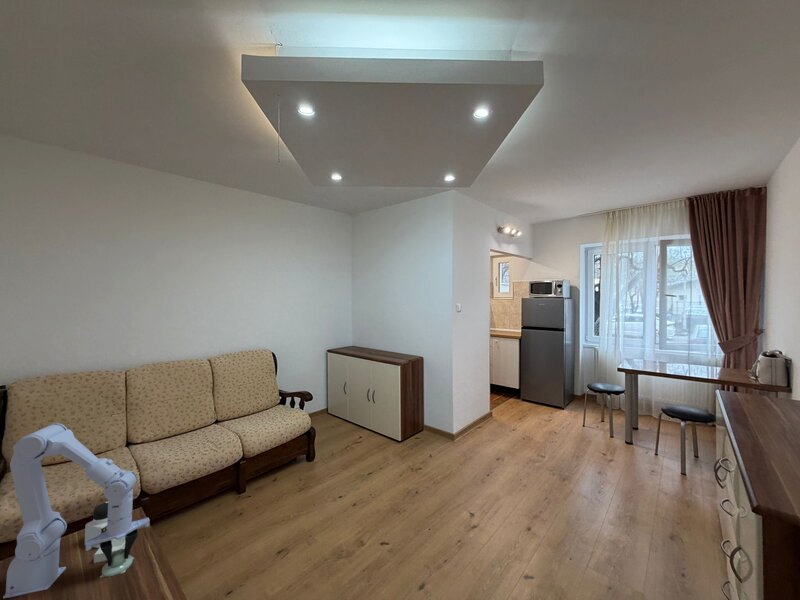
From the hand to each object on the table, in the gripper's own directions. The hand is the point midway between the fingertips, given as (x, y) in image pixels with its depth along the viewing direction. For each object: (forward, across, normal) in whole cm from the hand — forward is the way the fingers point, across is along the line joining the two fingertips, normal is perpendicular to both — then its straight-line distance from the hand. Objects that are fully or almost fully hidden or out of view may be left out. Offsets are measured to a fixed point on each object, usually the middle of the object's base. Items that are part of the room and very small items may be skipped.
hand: (117, 560), depth 96 cm
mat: (+2, 0, 0) cm, 2 cm away
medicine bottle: (+2, -1, +19) cm, 19 cm away
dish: (+2, 0, +8) cm, 9 cm away
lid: (+2, 0, 0) cm, 2 cm away
